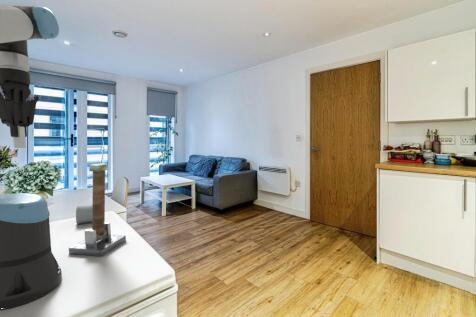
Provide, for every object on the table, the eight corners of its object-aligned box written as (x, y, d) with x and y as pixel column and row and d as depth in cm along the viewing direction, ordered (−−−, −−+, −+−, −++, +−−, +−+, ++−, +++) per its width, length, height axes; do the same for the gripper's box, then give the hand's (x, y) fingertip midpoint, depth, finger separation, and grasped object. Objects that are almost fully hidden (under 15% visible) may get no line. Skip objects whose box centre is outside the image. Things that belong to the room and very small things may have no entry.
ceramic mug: (98, 222, 108) (97, 205, 108) (76, 226, 105) (74, 208, 104) (99, 216, 118) (98, 200, 117) (78, 219, 114) (77, 203, 113)
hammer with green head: (97, 243, 81) (98, 165, 79) (88, 242, 82) (88, 164, 79) (108, 237, 86) (109, 164, 83) (99, 236, 87) (99, 163, 84)
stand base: (102, 256, 77) (100, 234, 76) (69, 253, 79) (67, 232, 79) (125, 240, 89) (124, 221, 88) (96, 238, 91) (95, 219, 90)
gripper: (25, 76, 82) (31, 147, 84) (-23, 64, 69) (-15, 148, 71) (44, 74, 80) (49, 146, 82) (-1, 63, 68) (7, 148, 70)
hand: (20, 147), depth 77 cm, fingers closed
